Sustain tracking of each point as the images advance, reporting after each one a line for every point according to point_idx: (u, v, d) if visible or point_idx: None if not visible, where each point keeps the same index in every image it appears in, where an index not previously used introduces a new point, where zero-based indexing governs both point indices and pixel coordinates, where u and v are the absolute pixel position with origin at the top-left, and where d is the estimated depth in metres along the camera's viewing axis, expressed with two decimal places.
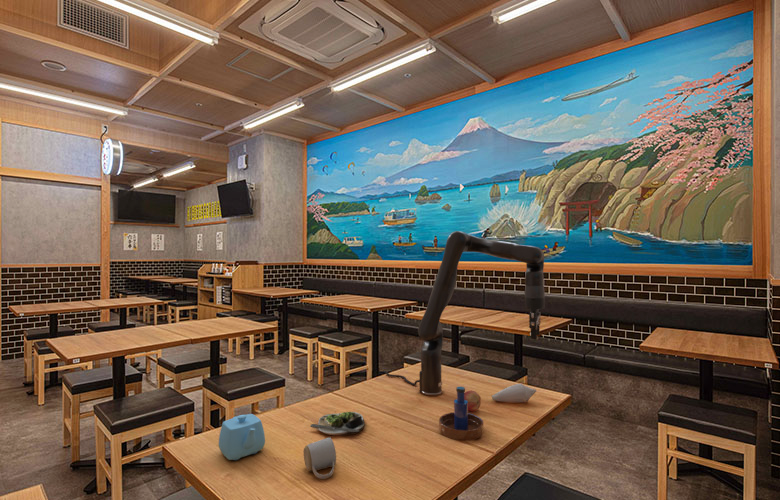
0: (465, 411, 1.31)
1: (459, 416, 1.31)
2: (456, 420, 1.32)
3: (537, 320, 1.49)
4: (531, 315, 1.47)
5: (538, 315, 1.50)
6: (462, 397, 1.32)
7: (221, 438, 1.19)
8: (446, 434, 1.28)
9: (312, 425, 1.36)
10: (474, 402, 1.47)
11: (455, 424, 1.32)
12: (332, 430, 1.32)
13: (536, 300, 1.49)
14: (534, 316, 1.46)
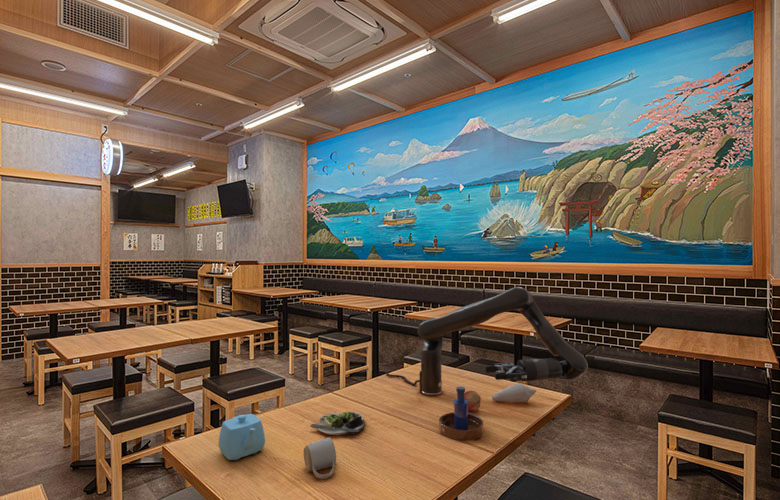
0: (465, 411, 1.31)
1: (459, 416, 1.31)
2: (456, 420, 1.32)
3: (513, 378, 1.33)
4: (524, 375, 1.30)
5: None
6: (462, 397, 1.32)
7: (221, 438, 1.19)
8: (446, 434, 1.28)
9: (312, 425, 1.36)
10: (474, 402, 1.47)
11: (455, 424, 1.32)
12: (332, 430, 1.32)
13: (534, 375, 1.34)
14: (524, 378, 1.30)
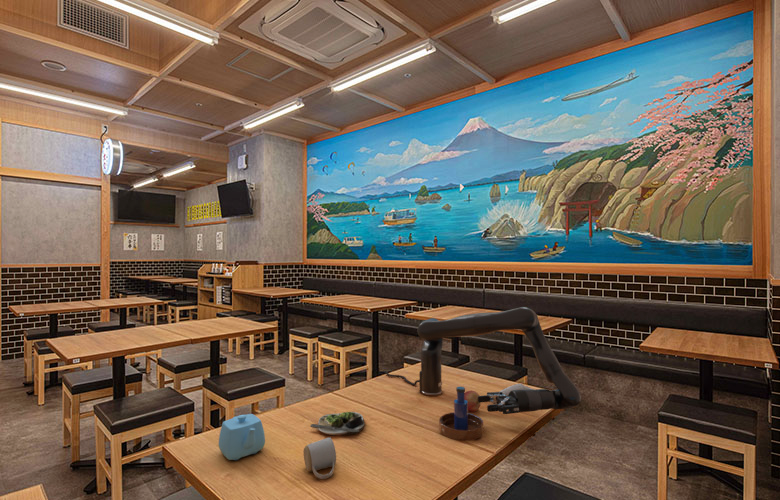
0: (465, 411, 1.31)
1: (459, 416, 1.31)
2: (456, 420, 1.32)
3: (506, 409, 1.32)
4: (516, 408, 1.29)
5: (508, 408, 1.34)
6: (462, 397, 1.32)
7: (221, 438, 1.19)
8: (446, 434, 1.28)
9: (312, 425, 1.36)
10: (474, 402, 1.47)
11: (455, 424, 1.32)
12: (332, 430, 1.32)
13: (526, 407, 1.34)
14: (516, 411, 1.29)
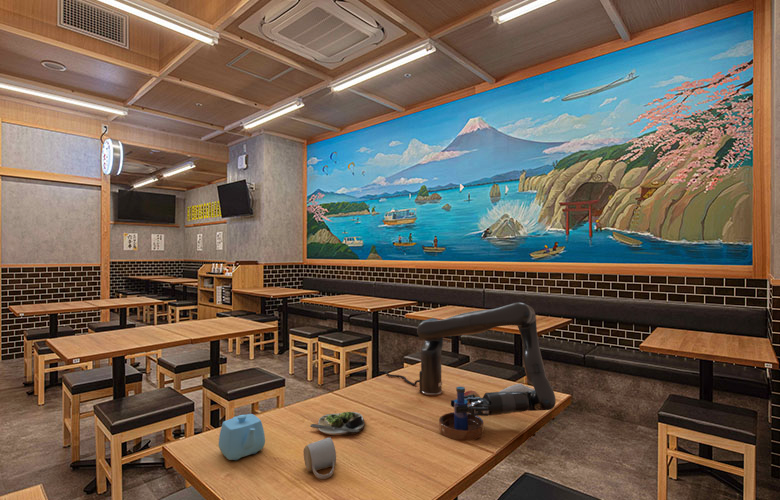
0: None
1: (459, 416, 1.31)
2: (456, 420, 1.32)
3: (476, 412, 1.31)
4: (485, 411, 1.28)
5: None
6: (462, 397, 1.32)
7: (221, 438, 1.19)
8: (446, 434, 1.28)
9: (312, 425, 1.36)
10: None
11: (455, 424, 1.32)
12: (332, 430, 1.32)
13: (499, 410, 1.32)
14: (484, 414, 1.28)
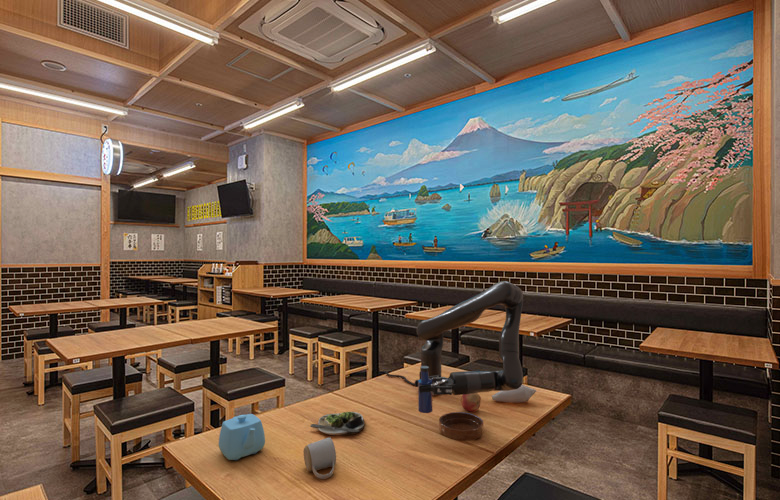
0: None
1: (422, 396, 1.27)
2: (420, 400, 1.28)
3: (440, 391, 1.27)
4: (449, 389, 1.24)
5: None
6: (426, 376, 1.28)
7: (221, 438, 1.19)
8: (446, 434, 1.28)
9: (312, 425, 1.36)
10: (474, 402, 1.47)
11: (419, 404, 1.28)
12: (332, 430, 1.32)
13: (464, 389, 1.28)
14: (448, 393, 1.24)
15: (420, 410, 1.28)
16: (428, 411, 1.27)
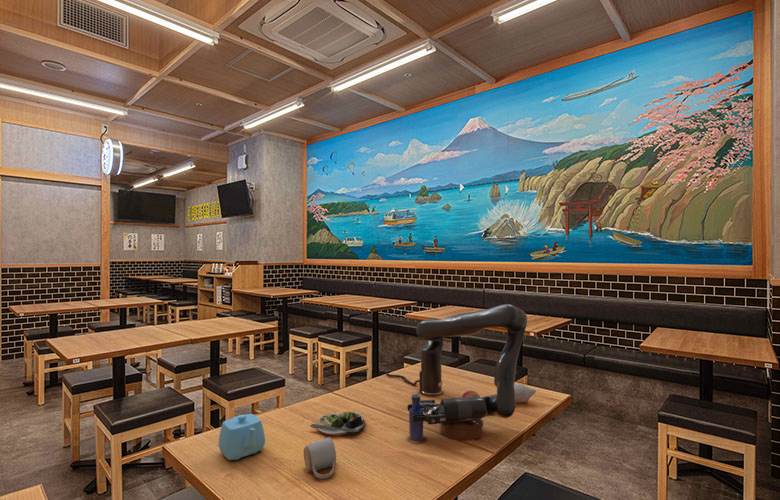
0: None
1: (413, 426, 1.26)
2: (411, 429, 1.27)
3: (433, 419, 1.26)
4: (443, 418, 1.23)
5: None
6: (417, 405, 1.27)
7: (221, 438, 1.19)
8: (446, 434, 1.28)
9: (312, 425, 1.36)
10: None
11: (409, 434, 1.27)
12: (332, 430, 1.32)
13: (455, 417, 1.27)
14: (442, 421, 1.23)
15: None
16: None
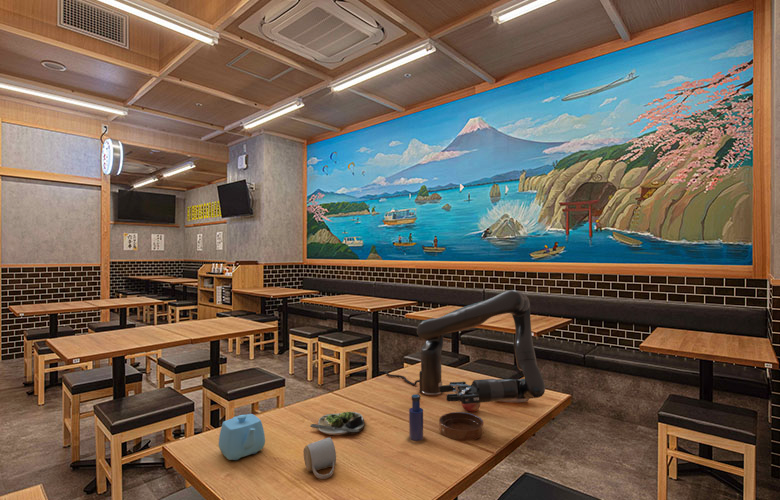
0: (419, 420, 1.26)
1: (413, 426, 1.26)
2: (411, 429, 1.27)
3: (466, 399, 1.28)
4: (476, 397, 1.26)
5: None
6: (417, 405, 1.27)
7: (221, 438, 1.19)
8: (446, 434, 1.28)
9: (312, 425, 1.36)
10: None
11: (409, 434, 1.27)
12: (332, 430, 1.32)
13: (487, 397, 1.30)
14: (475, 401, 1.25)
15: None
16: None
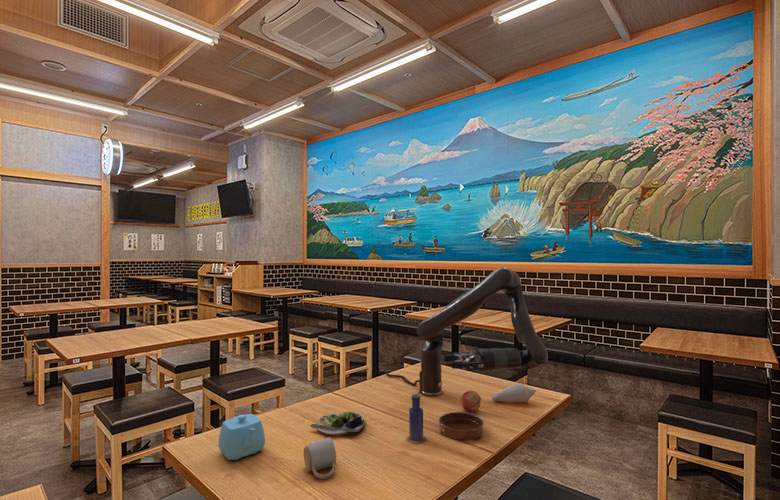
0: (419, 420, 1.26)
1: (413, 426, 1.26)
2: (411, 429, 1.27)
3: (470, 367, 1.30)
4: (481, 364, 1.27)
5: None
6: (417, 405, 1.27)
7: (221, 438, 1.19)
8: (446, 434, 1.28)
9: (312, 425, 1.36)
10: (474, 402, 1.47)
11: (409, 434, 1.27)
12: (332, 430, 1.32)
13: (491, 365, 1.32)
14: (480, 368, 1.27)
15: None
16: None
